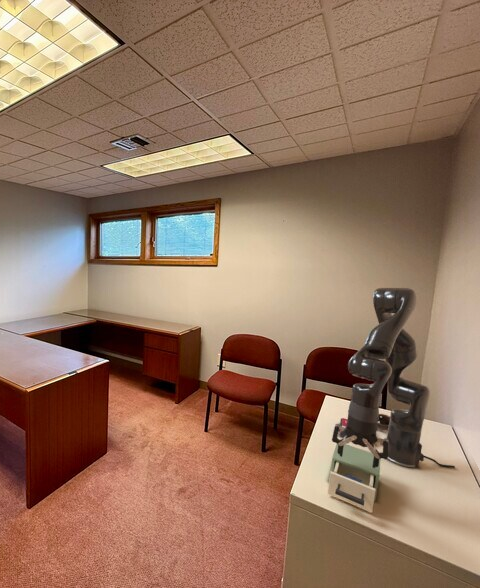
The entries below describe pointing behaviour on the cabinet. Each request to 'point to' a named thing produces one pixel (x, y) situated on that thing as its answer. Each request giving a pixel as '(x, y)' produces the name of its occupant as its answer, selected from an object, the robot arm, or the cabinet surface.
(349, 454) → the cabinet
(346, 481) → the drawer
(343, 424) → the red and grey box
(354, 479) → the block
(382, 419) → the pottery mug
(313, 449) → the cabinet surface
